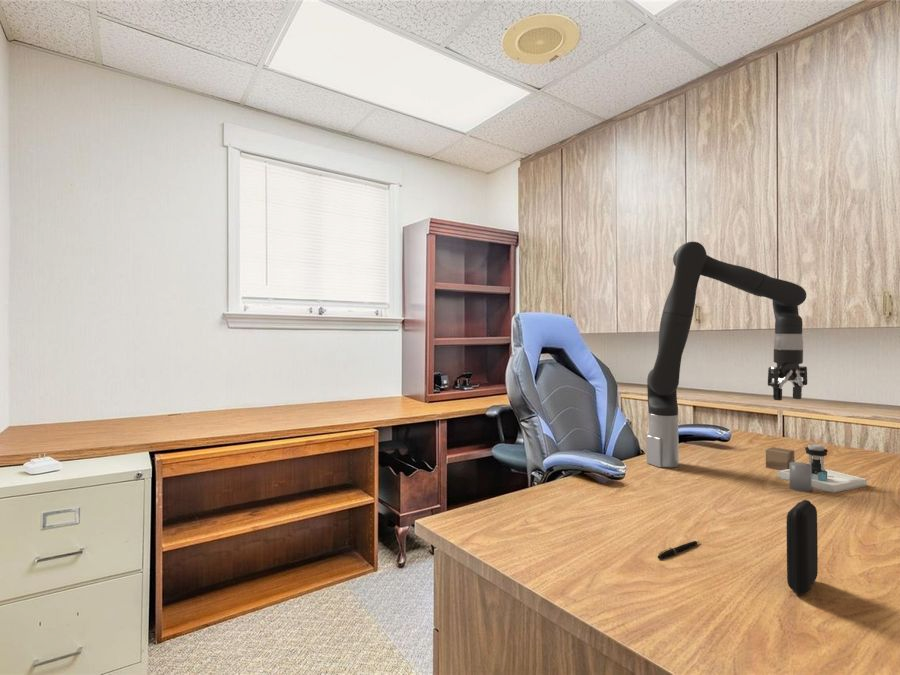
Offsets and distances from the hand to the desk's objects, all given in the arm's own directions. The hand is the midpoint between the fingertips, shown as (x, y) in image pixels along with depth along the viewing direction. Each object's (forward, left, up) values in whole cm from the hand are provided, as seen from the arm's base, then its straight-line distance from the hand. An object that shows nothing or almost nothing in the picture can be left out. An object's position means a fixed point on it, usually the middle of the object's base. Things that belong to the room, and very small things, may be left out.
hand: (787, 399), depth 146 cm
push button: (-1, -9, -23) cm, 25 cm away
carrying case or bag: (-64, -46, -23) cm, 82 cm away
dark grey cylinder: (-12, -12, -23) cm, 29 cm away
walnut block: (+3, +4, -23) cm, 24 cm away
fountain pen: (-73, -27, -24) cm, 82 cm away
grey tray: (0, -10, -23) cm, 25 cm away
